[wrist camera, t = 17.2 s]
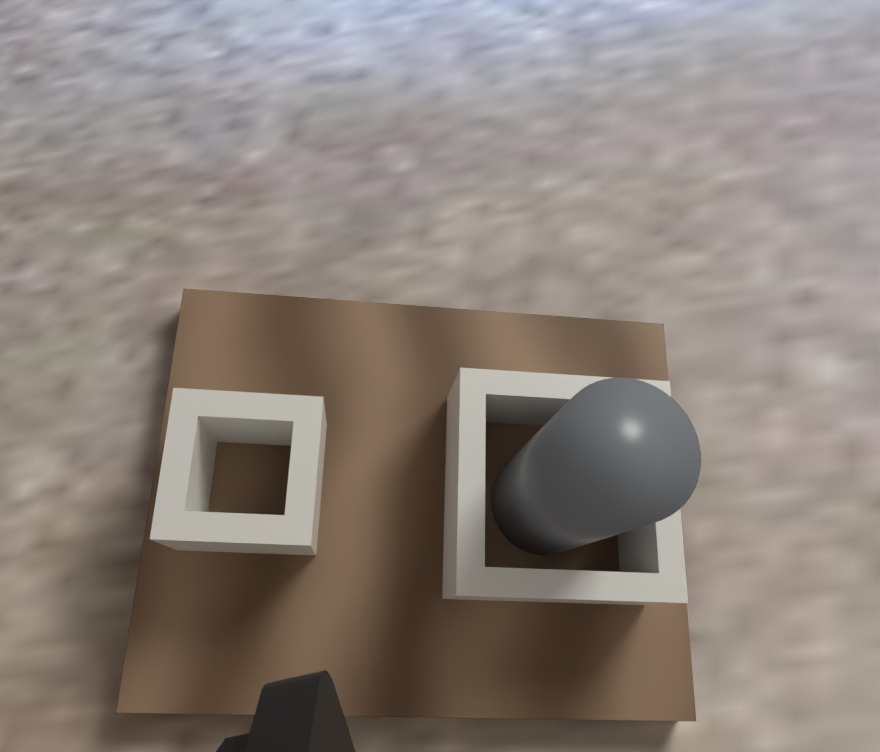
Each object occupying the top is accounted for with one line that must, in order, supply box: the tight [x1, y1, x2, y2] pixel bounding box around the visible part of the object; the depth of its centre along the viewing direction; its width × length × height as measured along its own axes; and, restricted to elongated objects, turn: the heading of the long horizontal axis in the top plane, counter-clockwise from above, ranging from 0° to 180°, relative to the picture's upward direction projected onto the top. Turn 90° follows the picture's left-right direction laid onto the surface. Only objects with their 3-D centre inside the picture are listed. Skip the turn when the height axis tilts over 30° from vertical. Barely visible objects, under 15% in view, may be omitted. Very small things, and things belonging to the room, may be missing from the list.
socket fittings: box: [150, 368, 688, 605], centre depth 28 cm, size 19×8×4 cm, turn 88°
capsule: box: [491, 378, 701, 555], centre depth 26 cm, size 4×4×10 cm
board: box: [116, 289, 696, 721], centre depth 30 cm, size 22×17×2 cm
